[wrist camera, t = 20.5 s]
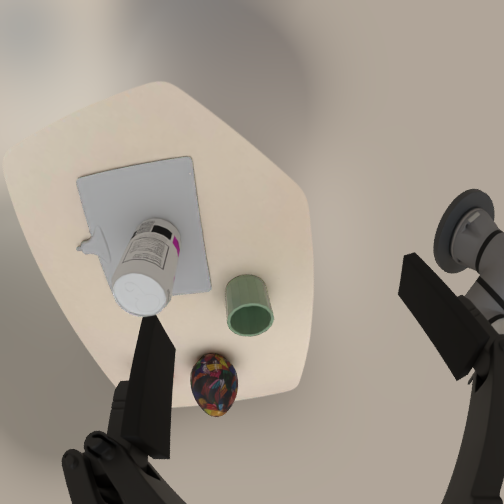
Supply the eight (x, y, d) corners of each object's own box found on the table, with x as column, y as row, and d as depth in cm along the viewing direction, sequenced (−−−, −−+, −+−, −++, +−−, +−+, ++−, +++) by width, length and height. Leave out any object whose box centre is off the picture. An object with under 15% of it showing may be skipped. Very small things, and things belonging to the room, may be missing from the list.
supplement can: (191, 243, 46) (184, 302, 34) (156, 267, 48) (140, 328, 35) (160, 206, 43) (138, 256, 30) (125, 235, 44) (96, 290, 31)
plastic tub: (262, 270, 51) (269, 298, 44) (269, 301, 55) (276, 330, 49) (220, 280, 51) (222, 309, 44) (230, 310, 55) (233, 340, 49)
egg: (184, 366, 63) (182, 419, 51) (202, 341, 59) (202, 399, 47) (222, 377, 67) (226, 428, 54) (243, 354, 63) (251, 409, 50)
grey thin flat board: (58, 182, 38) (55, 184, 37) (191, 155, 40) (191, 156, 39) (99, 300, 50) (98, 304, 49) (212, 289, 53) (212, 292, 52)
